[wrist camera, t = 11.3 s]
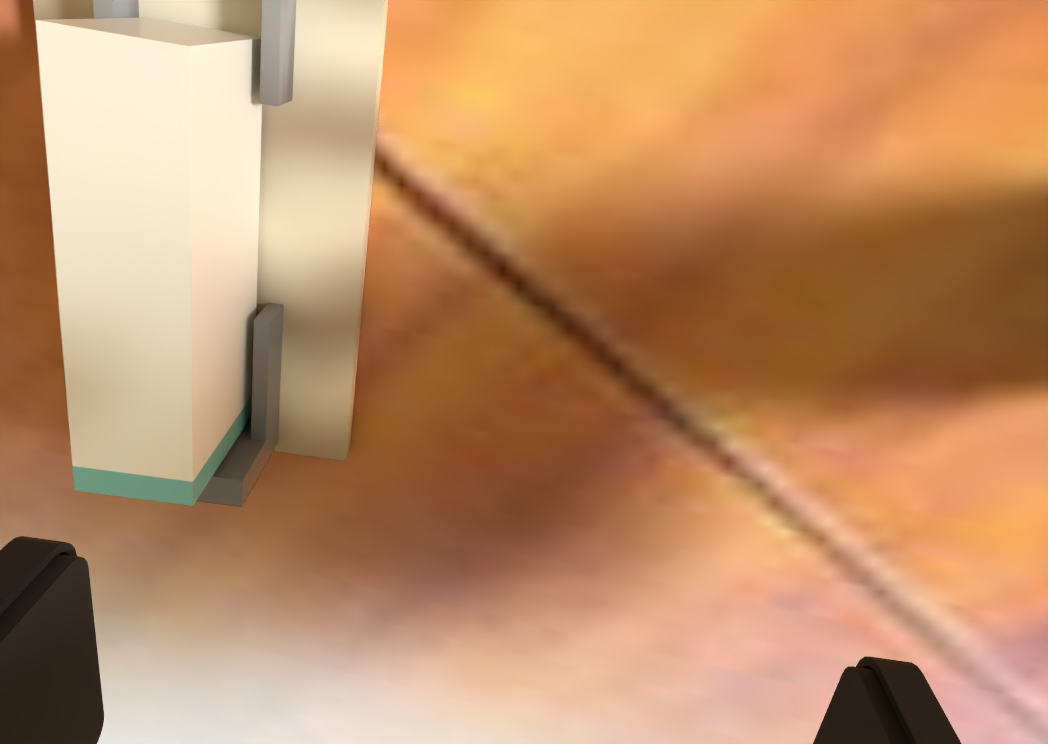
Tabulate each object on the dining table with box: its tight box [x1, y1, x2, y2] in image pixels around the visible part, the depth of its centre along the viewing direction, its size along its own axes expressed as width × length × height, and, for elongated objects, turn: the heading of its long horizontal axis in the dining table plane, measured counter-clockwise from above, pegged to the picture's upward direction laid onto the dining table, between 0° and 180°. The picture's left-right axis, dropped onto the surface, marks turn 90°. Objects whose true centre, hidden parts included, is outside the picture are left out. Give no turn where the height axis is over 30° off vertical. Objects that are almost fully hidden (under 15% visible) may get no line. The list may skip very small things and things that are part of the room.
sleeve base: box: [33, 0, 388, 461], centre depth 28 cm, size 30×12×3 cm, turn 171°
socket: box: [197, 302, 284, 507], centre depth 31 cm, size 6×6×5 cm
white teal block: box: [36, 17, 262, 506], centre depth 27 cm, size 15×4×7 cm, turn 171°
